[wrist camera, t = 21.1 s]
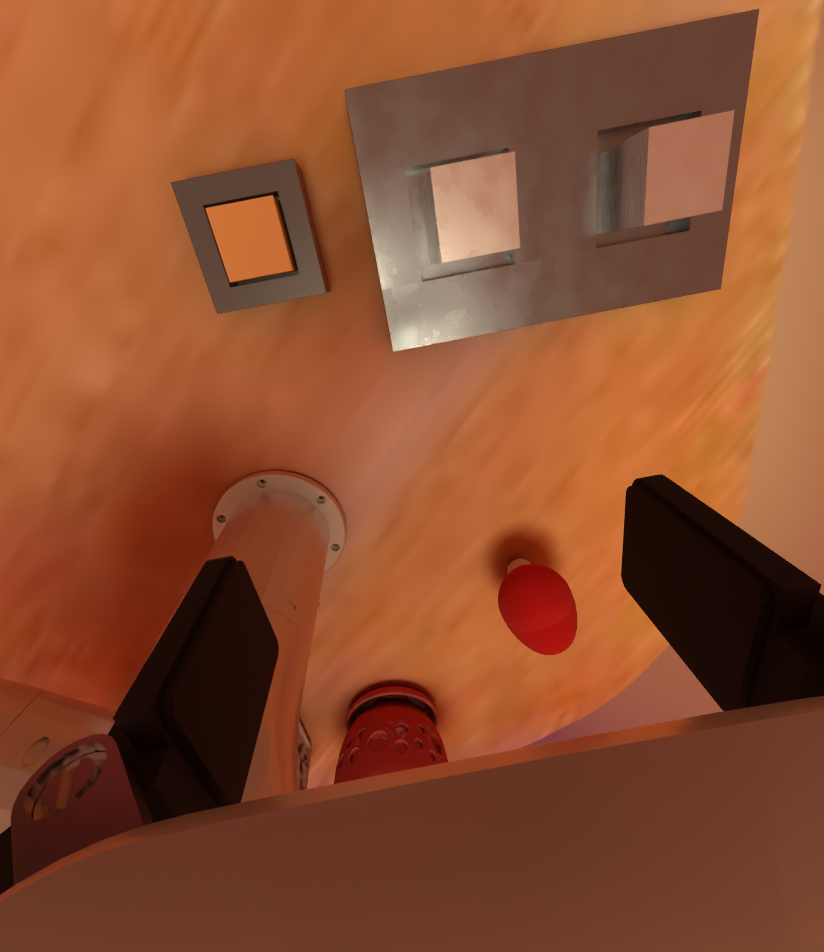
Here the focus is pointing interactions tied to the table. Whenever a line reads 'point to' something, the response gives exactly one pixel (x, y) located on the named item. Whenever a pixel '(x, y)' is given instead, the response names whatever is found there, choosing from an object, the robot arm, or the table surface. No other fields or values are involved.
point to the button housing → (292, 194)
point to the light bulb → (538, 607)
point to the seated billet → (471, 208)
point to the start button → (252, 238)
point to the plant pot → (389, 734)
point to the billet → (665, 173)
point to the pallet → (546, 177)
